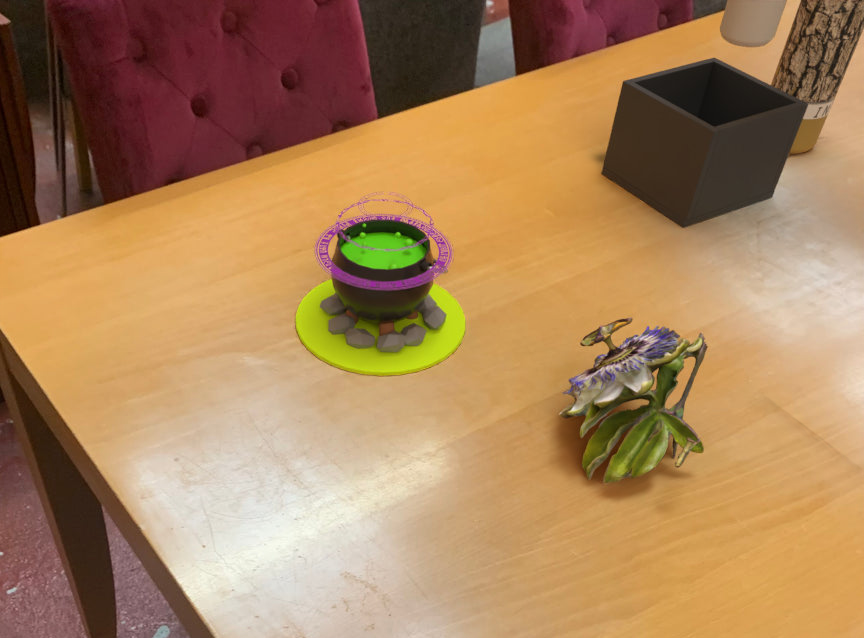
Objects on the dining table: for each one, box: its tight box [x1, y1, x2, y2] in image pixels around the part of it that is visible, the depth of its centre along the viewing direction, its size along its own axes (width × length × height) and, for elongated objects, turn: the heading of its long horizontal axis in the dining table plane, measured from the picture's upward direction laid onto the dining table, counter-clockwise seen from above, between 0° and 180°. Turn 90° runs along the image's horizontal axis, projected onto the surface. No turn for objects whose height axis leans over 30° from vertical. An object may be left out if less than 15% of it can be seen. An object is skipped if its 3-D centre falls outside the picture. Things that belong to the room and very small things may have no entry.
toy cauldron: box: [294, 191, 467, 377], centre depth 74 cm, size 15×15×11 cm
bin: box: [601, 57, 808, 228], centre depth 91 cm, size 13×13×10 cm
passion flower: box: [558, 316, 709, 485], centre depth 66 cm, size 11×11×12 cm
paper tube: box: [770, 0, 864, 155], centre depth 93 cm, size 7×7×25 cm
